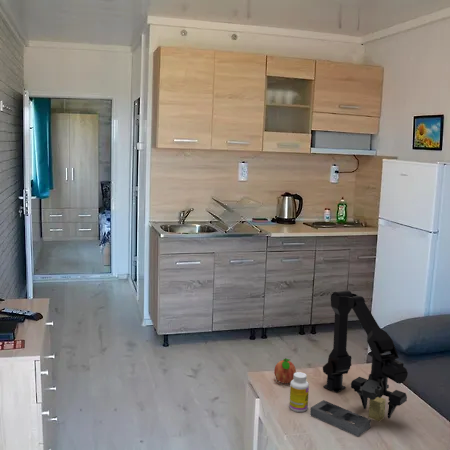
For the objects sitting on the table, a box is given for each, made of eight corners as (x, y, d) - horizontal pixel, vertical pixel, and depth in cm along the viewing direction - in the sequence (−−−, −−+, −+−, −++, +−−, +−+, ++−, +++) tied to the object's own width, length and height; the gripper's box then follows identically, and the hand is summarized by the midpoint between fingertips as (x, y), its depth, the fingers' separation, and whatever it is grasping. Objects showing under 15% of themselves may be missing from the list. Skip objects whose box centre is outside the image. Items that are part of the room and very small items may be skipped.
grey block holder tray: (323, 407, 192) (323, 400, 192) (370, 427, 179) (370, 419, 179) (310, 415, 186) (310, 407, 186) (358, 436, 173) (358, 428, 173)
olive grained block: (374, 413, 189) (375, 395, 188) (384, 417, 186) (385, 399, 185) (368, 417, 186) (369, 398, 185) (378, 421, 183) (380, 402, 182)
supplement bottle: (307, 413, 188) (308, 379, 186) (288, 411, 189) (290, 377, 187) (308, 405, 194) (309, 371, 192) (290, 402, 195) (291, 370, 193)
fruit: (271, 384, 210) (272, 360, 208) (277, 375, 219) (278, 352, 217) (292, 388, 207) (293, 364, 206) (297, 378, 216) (298, 355, 214)
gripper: (343, 369, 184) (341, 411, 187) (393, 387, 171) (390, 432, 174) (360, 361, 192) (357, 401, 195) (409, 377, 179) (405, 420, 182)
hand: (376, 413), depth 186 cm, fingers open, 9 cm apart
